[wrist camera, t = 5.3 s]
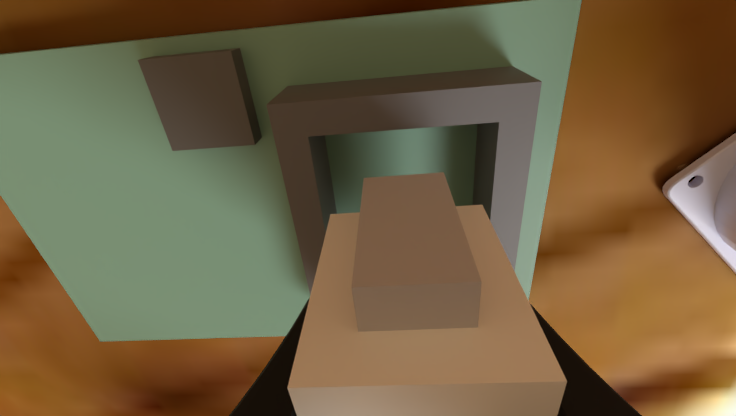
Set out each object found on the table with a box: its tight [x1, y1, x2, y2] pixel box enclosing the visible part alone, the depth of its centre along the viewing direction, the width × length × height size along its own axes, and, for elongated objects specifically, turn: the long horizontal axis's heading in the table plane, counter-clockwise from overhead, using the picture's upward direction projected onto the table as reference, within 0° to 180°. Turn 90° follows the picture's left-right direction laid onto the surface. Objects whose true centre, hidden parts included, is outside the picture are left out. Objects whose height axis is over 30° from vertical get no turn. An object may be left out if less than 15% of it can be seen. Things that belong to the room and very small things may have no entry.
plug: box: [287, 172, 567, 416], centre depth 9 cm, size 7×4×5 cm, turn 6°
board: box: [0, 0, 582, 342], centre depth 14 cm, size 22×14×4 cm, turn 95°
